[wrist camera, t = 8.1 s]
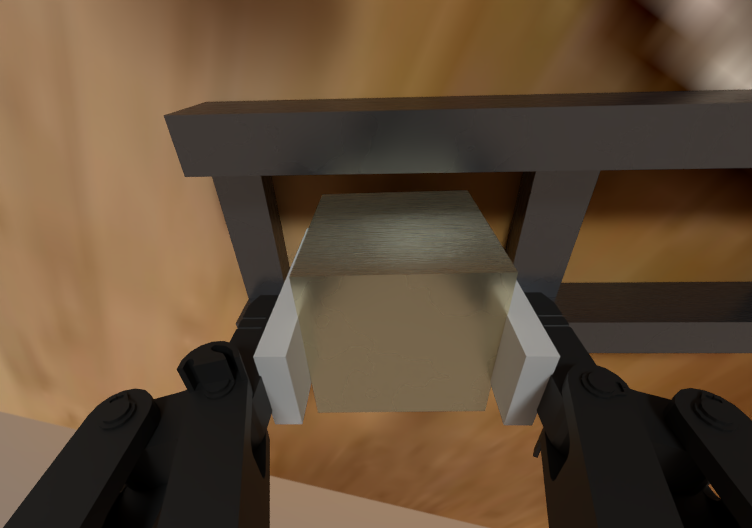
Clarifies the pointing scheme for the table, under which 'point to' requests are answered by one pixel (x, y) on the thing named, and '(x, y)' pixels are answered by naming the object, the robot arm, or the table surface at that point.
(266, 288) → the rail
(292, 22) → the table surface
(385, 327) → the brushed top tan cube
